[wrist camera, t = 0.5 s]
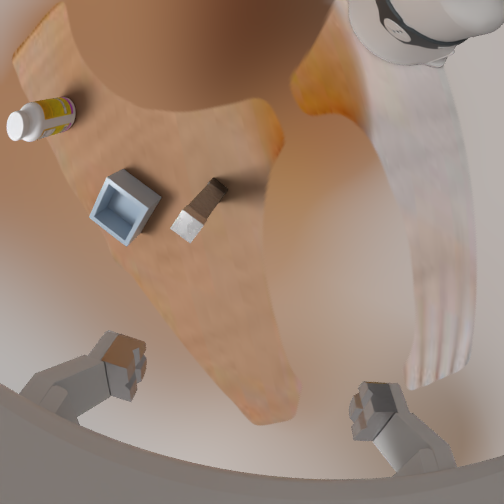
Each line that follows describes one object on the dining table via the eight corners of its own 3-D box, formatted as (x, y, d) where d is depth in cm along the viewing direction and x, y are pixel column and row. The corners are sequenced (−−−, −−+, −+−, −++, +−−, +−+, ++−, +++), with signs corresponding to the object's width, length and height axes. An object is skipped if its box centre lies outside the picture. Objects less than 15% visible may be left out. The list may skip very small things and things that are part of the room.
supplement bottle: (56, 93, 42) (6, 101, 31) (81, 101, 43) (30, 109, 32) (48, 126, 46) (0, 140, 34) (72, 135, 46) (23, 152, 35)
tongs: (213, 177, 47) (182, 209, 35) (228, 188, 48) (203, 225, 35) (203, 191, 49) (170, 228, 36) (218, 202, 49) (190, 243, 36)
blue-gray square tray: (123, 168, 48) (107, 177, 44) (161, 197, 50) (148, 208, 45) (104, 206, 52) (89, 217, 47) (140, 233, 54) (127, 246, 49)
